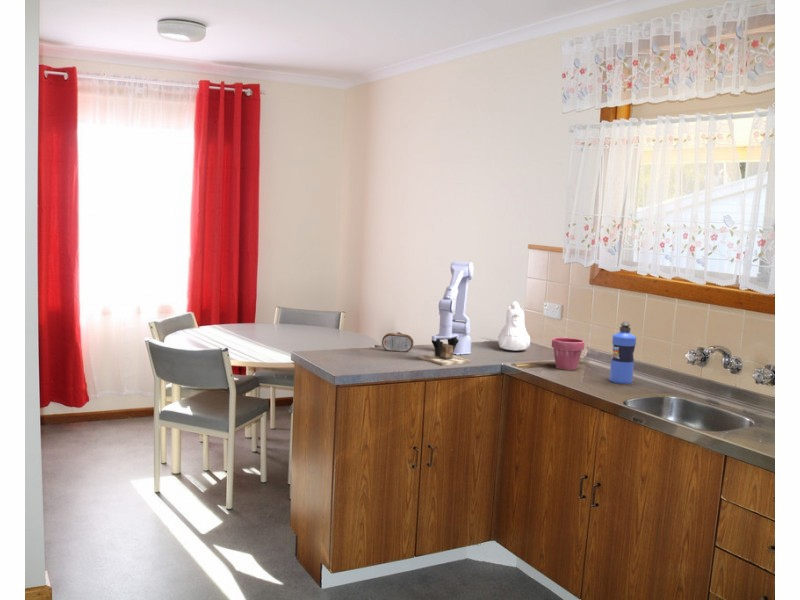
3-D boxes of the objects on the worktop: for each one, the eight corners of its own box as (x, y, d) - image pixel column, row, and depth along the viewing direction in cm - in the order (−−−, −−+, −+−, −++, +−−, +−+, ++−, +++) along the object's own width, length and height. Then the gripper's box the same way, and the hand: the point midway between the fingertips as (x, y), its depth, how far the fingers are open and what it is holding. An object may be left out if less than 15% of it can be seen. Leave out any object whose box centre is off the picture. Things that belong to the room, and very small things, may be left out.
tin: (413, 351, 342) (413, 334, 341) (412, 353, 339) (413, 335, 338) (381, 349, 343) (382, 332, 342) (381, 351, 340) (381, 333, 339)
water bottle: (626, 379, 302) (630, 320, 299) (636, 384, 293) (641, 323, 290) (605, 378, 301) (610, 320, 298) (615, 384, 292) (620, 323, 289)
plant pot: (554, 363, 329) (556, 335, 328) (585, 367, 323) (587, 339, 322) (546, 368, 317) (548, 340, 315) (578, 372, 311) (580, 343, 309)
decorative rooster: (528, 354, 348) (532, 304, 345) (496, 352, 351) (499, 301, 348) (530, 346, 372) (534, 298, 369) (500, 343, 375) (503, 296, 372)
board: (445, 355, 336) (445, 353, 336) (470, 362, 322) (470, 360, 322) (418, 357, 327) (418, 355, 327) (442, 365, 313) (442, 363, 313)
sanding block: (440, 355, 329) (441, 342, 329) (452, 358, 323) (453, 345, 322) (434, 356, 327) (434, 343, 326) (445, 359, 321) (446, 346, 320)
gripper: (452, 323, 330) (450, 352, 332) (427, 325, 321) (426, 354, 323) (462, 325, 325) (460, 355, 326) (438, 327, 316) (436, 357, 317)
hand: (444, 355), depth 324 cm, fingers open, 7 cm apart
